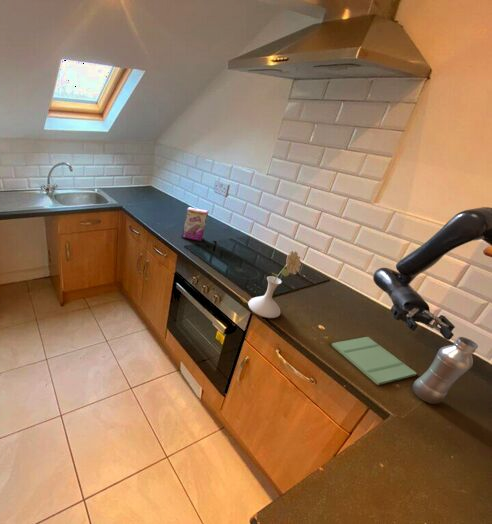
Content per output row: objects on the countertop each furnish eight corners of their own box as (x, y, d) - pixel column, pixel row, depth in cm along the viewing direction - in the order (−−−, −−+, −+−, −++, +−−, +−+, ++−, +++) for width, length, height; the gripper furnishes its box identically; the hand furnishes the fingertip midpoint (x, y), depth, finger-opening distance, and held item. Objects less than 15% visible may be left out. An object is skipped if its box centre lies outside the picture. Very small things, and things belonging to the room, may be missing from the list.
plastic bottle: (415, 402, 81) (460, 347, 71) (405, 383, 86) (445, 329, 77) (444, 410, 79) (493, 355, 70) (431, 390, 85) (475, 337, 75)
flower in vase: (257, 322, 105) (279, 259, 93) (241, 302, 114) (260, 243, 103) (289, 320, 107) (315, 259, 96) (271, 301, 117) (293, 243, 105)
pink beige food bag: (181, 237, 165) (186, 209, 157) (183, 234, 169) (188, 206, 162) (201, 241, 163) (208, 213, 155) (202, 238, 167) (208, 210, 159)
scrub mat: (366, 338, 103) (367, 336, 102) (415, 375, 89) (417, 373, 89) (331, 345, 98) (332, 342, 97) (377, 385, 85) (379, 382, 84)
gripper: (389, 287, 99) (410, 315, 85) (440, 299, 96) (470, 330, 82) (378, 305, 103) (396, 335, 89) (427, 317, 99) (454, 350, 85)
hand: (432, 332), depth 85 cm, fingers open, 8 cm apart
